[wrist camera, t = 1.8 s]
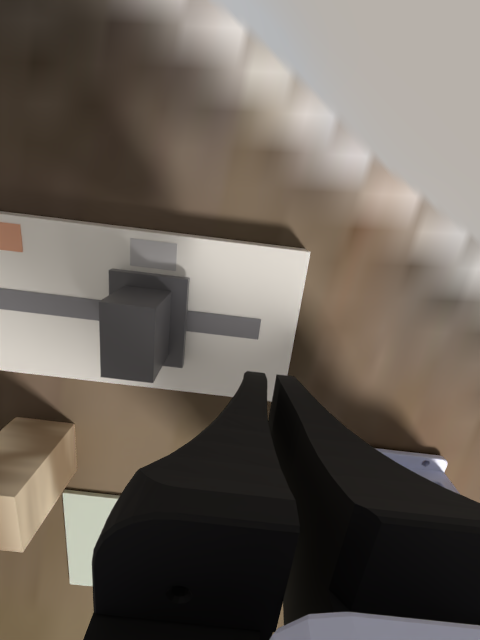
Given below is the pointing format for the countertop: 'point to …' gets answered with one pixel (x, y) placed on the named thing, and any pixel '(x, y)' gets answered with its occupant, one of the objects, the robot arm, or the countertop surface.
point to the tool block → (32, 475)
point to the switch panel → (151, 257)
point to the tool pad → (84, 530)
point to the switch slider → (142, 324)
